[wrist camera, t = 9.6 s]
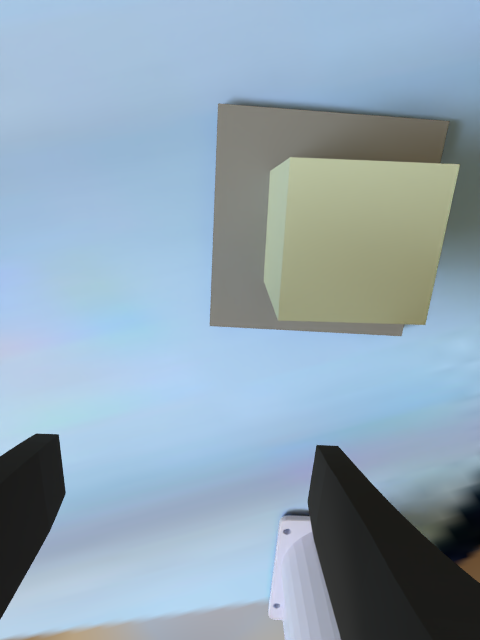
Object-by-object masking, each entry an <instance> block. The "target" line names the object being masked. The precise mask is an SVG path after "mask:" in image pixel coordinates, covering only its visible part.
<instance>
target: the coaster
mask: <svg viewBox="0 0 480 640" xmlns="http://www.w3.org/2000/svg"><path fill="white" fill-rule="evenodd" d="M448 125H449V121H441V120H427V119H414V118H401V117H388V116H375V115H362V114H348V113H335V112H322V111H309V110H296V109H283V108H269V107H256V106H243V105H230V104H218V123H217V149H216V176H215V202H214V229H213V255H212V281H211V308H210V326H220V327H239V328H258V329H277V330H296V331H315V332H333V333H352V334H371V335H390V336H401V335H402V331H403V327H404V324H380V323H346V322H312V321H278V319H277V316H276V314H275V311H274V308H273V305H272V303H271V300H270V297H269V294H268V291H267V289H266V286H265V283H264V266H265V249H266V232H267V215H268V199H269V182H270V171H271V170H272V169H274V168H275V167H277V166H278V165H280V164H281V163H283V162H284V161H285V160H287V159H288V158H290V157H298V158H321V159H345V160H369V161H392V162H416V163H440V161H441V157H442V152H443V148H444V143H445V139H446V134H447V130H448Z"/></svg>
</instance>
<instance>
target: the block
mask: <svg viewBox="0 0 480 640" xmlns="http://www.w3.org/2000/svg"><path fill="white" fill-rule="evenodd" d="M459 166H460V164H440V163H416V162H392V161H369V160H345V159H321V158H298V157H290V158H288V159H287V160H285V161H284V162H283V163H281V164H280V165H278V166H277V167H275V168H274V169H272V170H271V171H270V182H269V199H268V215H267V232H266V249H265V266H264V283H265V286H266V289H267V291H268V294H269V297H270V300H271V303H272V305H273V308H274V311H275V314H276V316H277V319H278V321H312V322H346V323H380V324H415V325H425V323H426V319H427V314H428V309H429V305H430V300H431V296H432V291H433V286H434V282H435V277H436V272H437V268H438V263H439V259H440V254H441V249H442V245H443V240H444V236H445V231H446V226H447V222H448V217H449V212H450V208H451V203H452V199H453V194H454V189H455V185H456V180H457V176H458V171H459Z"/></svg>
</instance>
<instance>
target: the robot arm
mask: <svg viewBox="0 0 480 640" xmlns="http://www.w3.org/2000/svg"><path fill="white" fill-rule="evenodd" d="M64 496H65V484H64V476H63V467H62V459H61V451H60V442H59V435H57V434H35V435H33V436H31V437H30V438H28V439H26V440H25V441H23V442H22V443H20V444H19V445H17V446H15V447H14V448H12V449H11V450H9V451H8V452H6V453H5V454H3V455H2V456H0V619H1V617H2V616H3V614H4V612H5V610H6V608H7V607H8V605H9V603H10V601H11V600H12V598H13V596H14V594H15V593H16V591H17V589H18V587H19V585H20V584H21V582H22V580H23V578H24V577H25V575H26V573H27V571H28V570H29V568H30V566H31V564H32V562H33V561H34V559H35V557H36V555H37V553H38V552H39V550H40V548H41V546H42V544H43V543H44V541H45V539H46V537H47V535H48V533H49V532H50V529H51V527H52V525H53V523H54V520H55V518H56V516H57V513H58V511H59V508H60V506H61V503H62V501H63V498H64ZM308 508H309V514H310V516H289V515H287V516H283V517H282V518H281V519H280V522H279V530H278V537H277V545H276V553H275V561H274V568H273V576H272V584H271V592H270V599H269V607H268V614H269V617H270V618H271V619H274V620H283V627H284V636H285V640H480V583H479V582H477V581H476V580H475V579H473V578H472V577H471V576H470V575H469V574H467V573H466V572H465V571H464V570H463V569H461V568H460V567H459V566H458V565H457V564H456V563H454V562H453V561H452V560H451V559H450V558H448V557H447V556H446V555H445V554H444V553H442V552H441V551H440V550H439V549H438V548H437V547H436V546H434V545H433V544H432V543H431V542H430V541H429V540H428V539H427V538H426V537H425V536H423V535H422V534H421V533H420V532H419V531H418V530H417V529H416V528H415V527H414V526H413V525H412V524H411V523H410V522H409V521H408V520H407V519H406V518H405V517H404V516H403V515H402V514H401V513H400V512H399V511H398V510H397V509H396V508H395V507H394V506H393V505H392V504H391V503H390V502H389V501H388V500H387V499H386V498H385V497H384V496H383V495H382V494H381V493H380V492H379V491H378V490H377V489H376V488H375V487H374V486H373V484H372V483H371V482H370V481H369V480H368V479H367V478H366V477H365V476H364V475H363V473H362V472H361V471H360V470H359V469H358V468H357V467H356V466H355V465H354V463H353V462H352V461H351V460H350V459H349V458H348V457H347V456H346V454H345V453H344V452H343V451H342V450H341V449H340V448H339V447H338V446H325V445H317V446H316V452H315V458H314V465H313V471H312V477H311V484H310V490H309V496H308ZM285 529H286V530H285Z"/></svg>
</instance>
